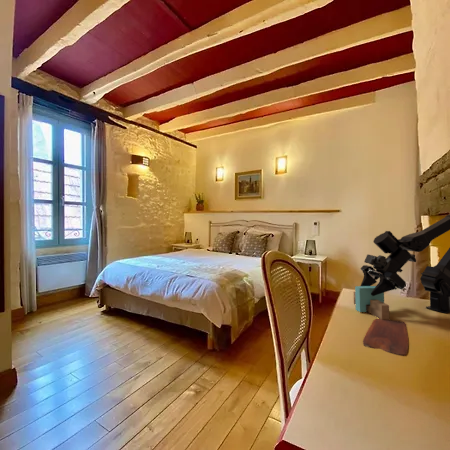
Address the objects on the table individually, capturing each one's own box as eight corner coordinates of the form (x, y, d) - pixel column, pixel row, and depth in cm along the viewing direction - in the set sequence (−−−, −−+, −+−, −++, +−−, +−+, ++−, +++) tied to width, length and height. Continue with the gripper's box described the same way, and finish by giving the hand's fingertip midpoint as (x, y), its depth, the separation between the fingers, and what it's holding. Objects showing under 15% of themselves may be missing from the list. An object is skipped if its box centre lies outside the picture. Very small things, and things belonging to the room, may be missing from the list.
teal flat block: (379, 309, 95) (378, 285, 95) (384, 312, 92) (383, 287, 92) (355, 310, 95) (355, 286, 95) (360, 312, 92) (359, 288, 92)
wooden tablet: (407, 360, 61) (407, 353, 61) (361, 348, 67) (361, 341, 67) (409, 324, 82) (409, 319, 82) (374, 318, 88) (374, 313, 88)
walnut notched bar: (353, 303, 102) (353, 291, 102) (359, 303, 102) (359, 291, 102) (381, 320, 84) (381, 305, 84) (389, 320, 84) (389, 305, 84)
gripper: (364, 245, 103) (338, 272, 103) (396, 249, 84) (364, 282, 84) (384, 264, 103) (358, 291, 103) (420, 272, 84) (388, 305, 84)
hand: (365, 292), depth 93 cm, fingers open, 7 cm apart
